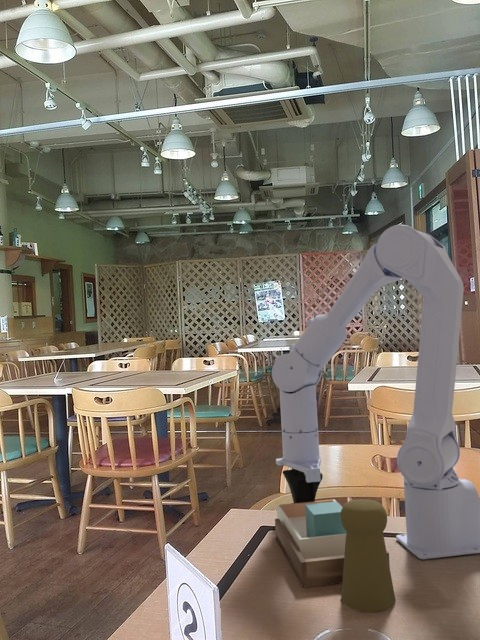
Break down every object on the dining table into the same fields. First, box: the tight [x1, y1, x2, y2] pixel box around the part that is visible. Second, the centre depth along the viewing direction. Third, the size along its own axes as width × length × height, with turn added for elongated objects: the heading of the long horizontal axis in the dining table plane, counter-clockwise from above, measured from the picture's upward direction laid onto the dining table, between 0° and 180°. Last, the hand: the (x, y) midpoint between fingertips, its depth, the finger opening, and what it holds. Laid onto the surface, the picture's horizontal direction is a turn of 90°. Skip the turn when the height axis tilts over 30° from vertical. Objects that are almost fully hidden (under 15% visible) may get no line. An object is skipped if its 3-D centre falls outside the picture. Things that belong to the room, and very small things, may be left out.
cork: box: [340, 498, 397, 613], centre depth 65 cm, size 6×6×11 cm
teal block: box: [305, 500, 346, 538], centre depth 77 cm, size 4×4×4 cm
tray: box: [276, 498, 346, 559], centre depth 81 cm, size 9×15×3 cm, turn 8°
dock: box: [274, 518, 391, 588], centre depth 77 cm, size 11×16×3 cm
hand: (304, 516), depth 90 cm, fingers closed
